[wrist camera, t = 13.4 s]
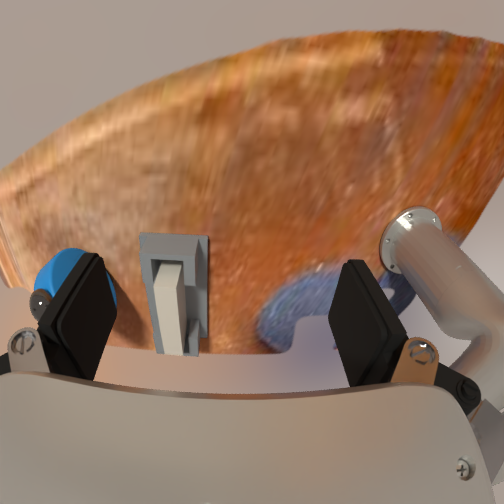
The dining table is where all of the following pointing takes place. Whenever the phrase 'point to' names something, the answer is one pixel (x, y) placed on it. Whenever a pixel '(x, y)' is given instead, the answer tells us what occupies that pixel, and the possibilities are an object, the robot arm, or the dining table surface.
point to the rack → (195, 281)
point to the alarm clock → (55, 280)
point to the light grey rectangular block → (171, 306)
